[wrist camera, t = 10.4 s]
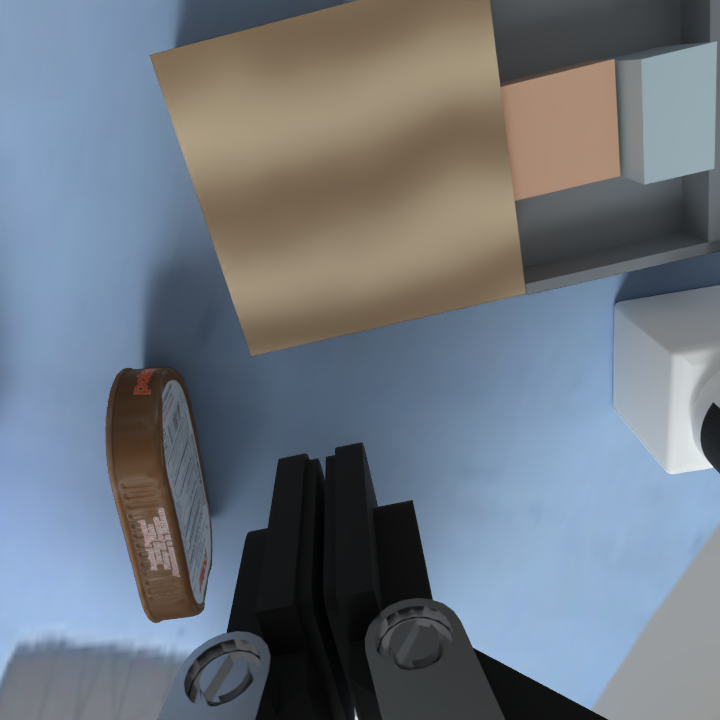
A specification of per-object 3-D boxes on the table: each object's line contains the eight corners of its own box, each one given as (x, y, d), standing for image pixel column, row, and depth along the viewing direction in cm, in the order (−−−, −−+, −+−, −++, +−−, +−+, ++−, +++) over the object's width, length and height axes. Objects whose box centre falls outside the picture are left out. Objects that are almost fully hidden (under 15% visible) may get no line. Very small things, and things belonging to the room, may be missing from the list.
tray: (689, 236, 33) (720, 251, 31) (512, 277, 34) (527, 295, 31) (687, -78, 27) (726, -95, 25) (472, -22, 28) (487, -32, 25)
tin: (134, 343, 35) (77, 418, 27) (189, 340, 35) (149, 414, 27) (179, 550, 41) (143, 657, 34) (226, 547, 41) (201, 654, 34)
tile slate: (599, 168, 31) (659, 155, 31) (644, 184, 27) (714, 168, 27) (593, 61, 29) (657, 46, 29) (641, 59, 25) (717, 41, 25)
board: (505, 270, 34) (526, 293, 30) (260, 327, 35) (250, 356, 31) (466, -20, 28) (485, -34, 24) (172, 57, 29) (149, 54, 25)
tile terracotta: (595, 167, 31) (620, 176, 29) (498, 190, 32) (513, 201, 29) (588, 60, 29) (614, 58, 26) (484, 86, 30) (499, 87, 27)
